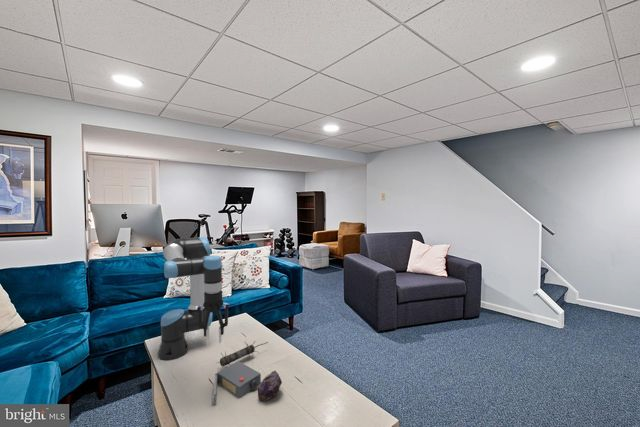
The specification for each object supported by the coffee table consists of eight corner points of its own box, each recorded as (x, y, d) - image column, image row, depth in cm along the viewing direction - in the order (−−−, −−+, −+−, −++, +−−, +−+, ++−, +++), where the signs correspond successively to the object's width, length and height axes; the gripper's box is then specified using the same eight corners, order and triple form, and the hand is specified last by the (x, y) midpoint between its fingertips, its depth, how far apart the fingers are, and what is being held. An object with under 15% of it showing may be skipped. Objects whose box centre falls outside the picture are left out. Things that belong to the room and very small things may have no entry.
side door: (214, 383, 131) (214, 373, 131) (217, 382, 131) (217, 373, 131) (212, 405, 117) (212, 394, 116) (216, 404, 117) (215, 394, 117)
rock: (255, 401, 121) (274, 408, 117) (252, 384, 119) (271, 390, 115) (270, 381, 131) (288, 387, 127) (268, 365, 130) (286, 370, 126)
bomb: (219, 351, 137) (269, 330, 159) (211, 354, 144) (260, 333, 166) (225, 374, 134) (275, 350, 156) (216, 376, 141) (265, 352, 163)
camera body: (216, 383, 131) (216, 371, 131) (238, 370, 141) (238, 359, 141) (241, 399, 120) (241, 386, 120) (263, 385, 130) (262, 373, 130)
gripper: (234, 287, 129) (235, 336, 130) (193, 289, 125) (194, 340, 126) (233, 292, 122) (233, 344, 123) (190, 295, 118) (191, 348, 119)
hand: (214, 342), depth 125 cm, fingers open, 4 cm apart
